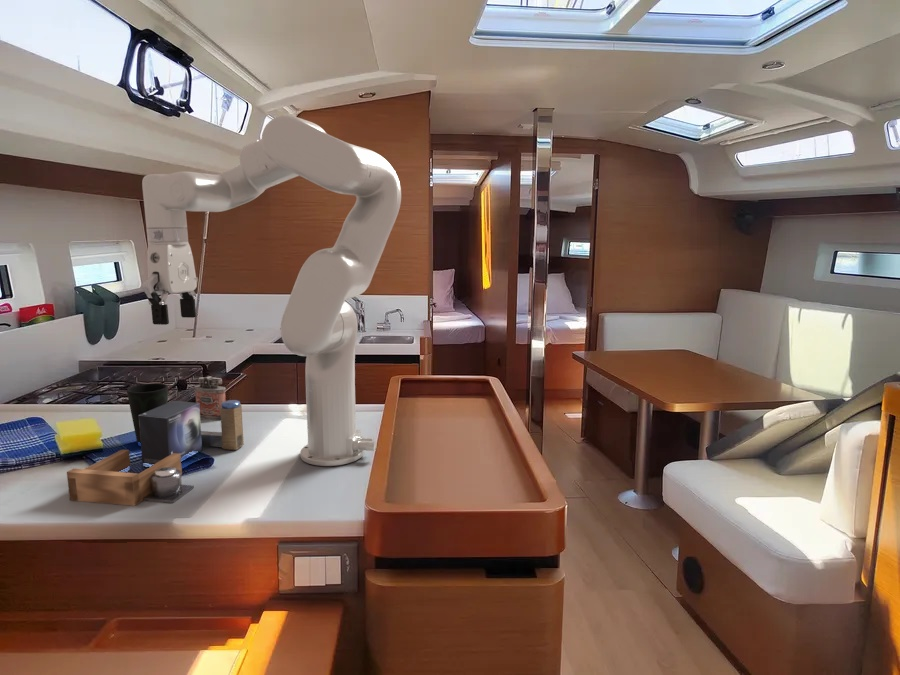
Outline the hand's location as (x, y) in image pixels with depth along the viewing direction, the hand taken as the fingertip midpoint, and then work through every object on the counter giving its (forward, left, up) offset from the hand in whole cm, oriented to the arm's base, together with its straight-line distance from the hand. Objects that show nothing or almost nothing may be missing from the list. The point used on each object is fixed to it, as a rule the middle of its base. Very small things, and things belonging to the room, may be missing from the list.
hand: (175, 320), depth 125 cm
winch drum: (-13, +25, -26) cm, 39 cm away
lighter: (+2, -15, -26) cm, 30 cm away
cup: (+5, +3, -26) cm, 27 cm away
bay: (-5, +24, -26) cm, 36 cm away
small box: (-5, +11, -26) cm, 29 cm away
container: (-8, +3, -26) cm, 27 cm away
